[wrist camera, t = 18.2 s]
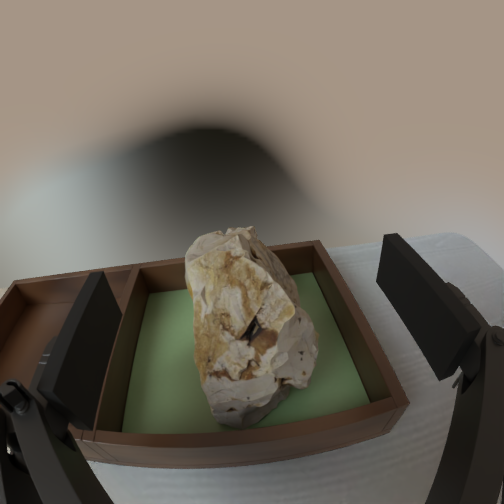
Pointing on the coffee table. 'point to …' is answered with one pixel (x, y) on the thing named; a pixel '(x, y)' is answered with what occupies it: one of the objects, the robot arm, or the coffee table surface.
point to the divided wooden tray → (188, 377)
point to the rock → (246, 326)
